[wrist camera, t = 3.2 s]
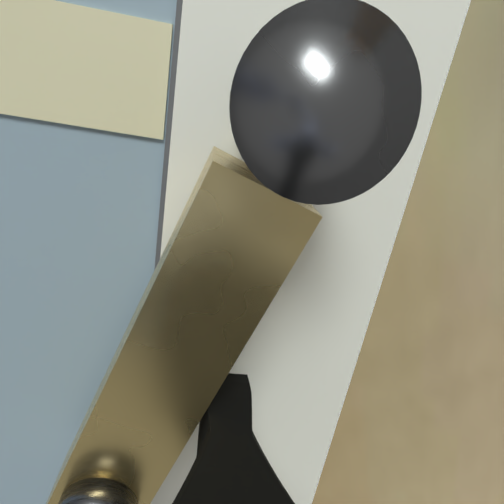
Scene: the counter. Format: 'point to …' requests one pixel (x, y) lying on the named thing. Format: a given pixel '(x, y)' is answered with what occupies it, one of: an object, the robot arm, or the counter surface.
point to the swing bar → (185, 333)
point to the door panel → (166, 220)
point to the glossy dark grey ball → (325, 100)
